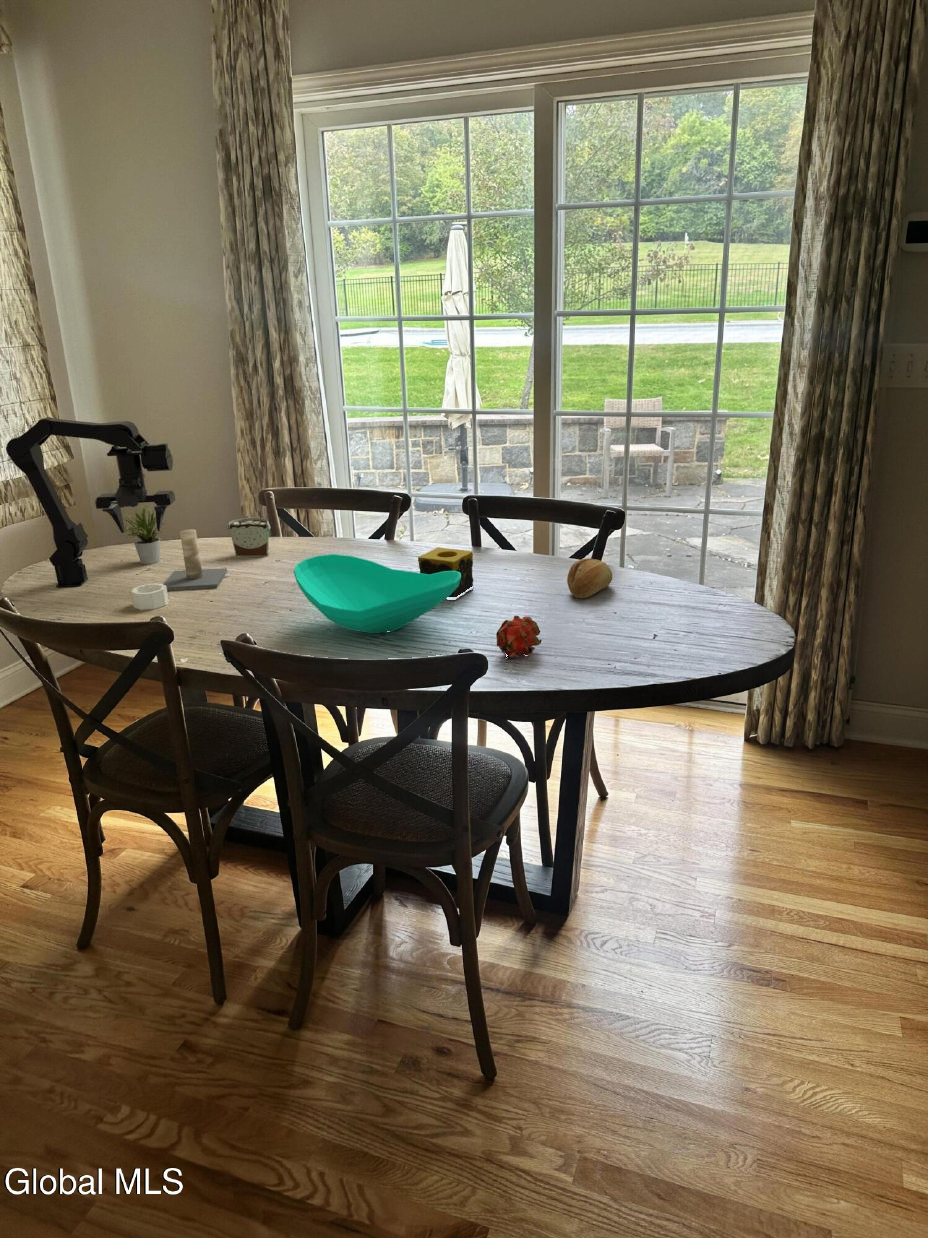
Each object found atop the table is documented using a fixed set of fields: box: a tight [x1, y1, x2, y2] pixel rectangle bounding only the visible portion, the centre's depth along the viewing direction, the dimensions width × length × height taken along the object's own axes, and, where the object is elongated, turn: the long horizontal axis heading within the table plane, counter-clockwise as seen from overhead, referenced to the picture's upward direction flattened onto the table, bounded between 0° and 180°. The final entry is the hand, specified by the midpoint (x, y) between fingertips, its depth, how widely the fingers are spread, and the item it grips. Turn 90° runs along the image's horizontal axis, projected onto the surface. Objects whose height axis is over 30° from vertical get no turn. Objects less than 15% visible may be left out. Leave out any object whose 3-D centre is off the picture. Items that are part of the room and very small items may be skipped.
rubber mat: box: [162, 567, 228, 592], centre depth 225 cm, size 14×14×1 cm
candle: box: [417, 546, 474, 597], centre depth 208 cm, size 10×10×10 cm
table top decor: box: [293, 553, 461, 634], centre depth 187 cm, size 40×28×13 cm
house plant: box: [121, 505, 165, 565], centre depth 242 cm, size 14×14×16 cm
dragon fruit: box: [495, 614, 542, 659], centre depth 171 cm, size 8×8×12 cm
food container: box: [227, 517, 271, 557], centre depth 246 cm, size 12×6×10 cm, turn 84°
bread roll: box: [566, 557, 613, 599], centre depth 205 cm, size 10×15×8 cm, turn 150°
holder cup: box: [130, 582, 170, 611], centre depth 208 cm, size 8×8×4 cm
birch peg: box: [179, 528, 203, 580], centre depth 223 cm, size 4×4×12 cm
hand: (141, 531), depth 223 cm, fingers open, 9 cm apart
